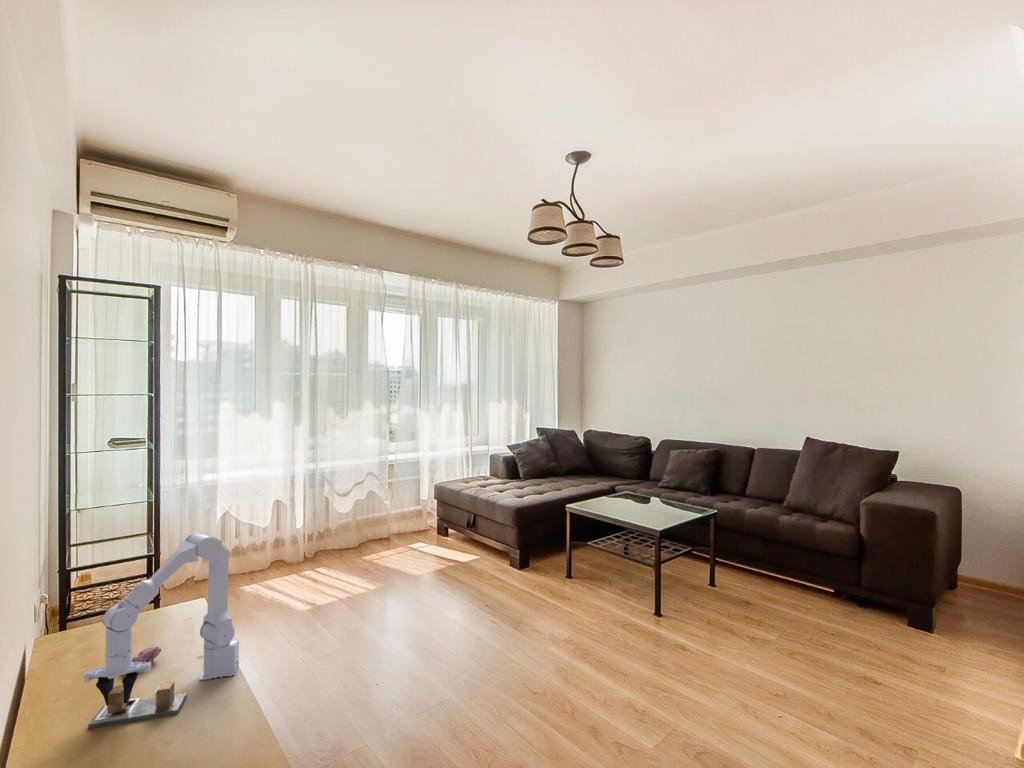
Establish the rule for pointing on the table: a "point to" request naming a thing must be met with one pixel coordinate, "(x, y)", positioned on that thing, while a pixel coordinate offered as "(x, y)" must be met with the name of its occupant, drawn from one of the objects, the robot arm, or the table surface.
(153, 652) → the video game controller
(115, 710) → the wooden block
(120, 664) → the robot arm
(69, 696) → the table surface
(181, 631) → the table surface
